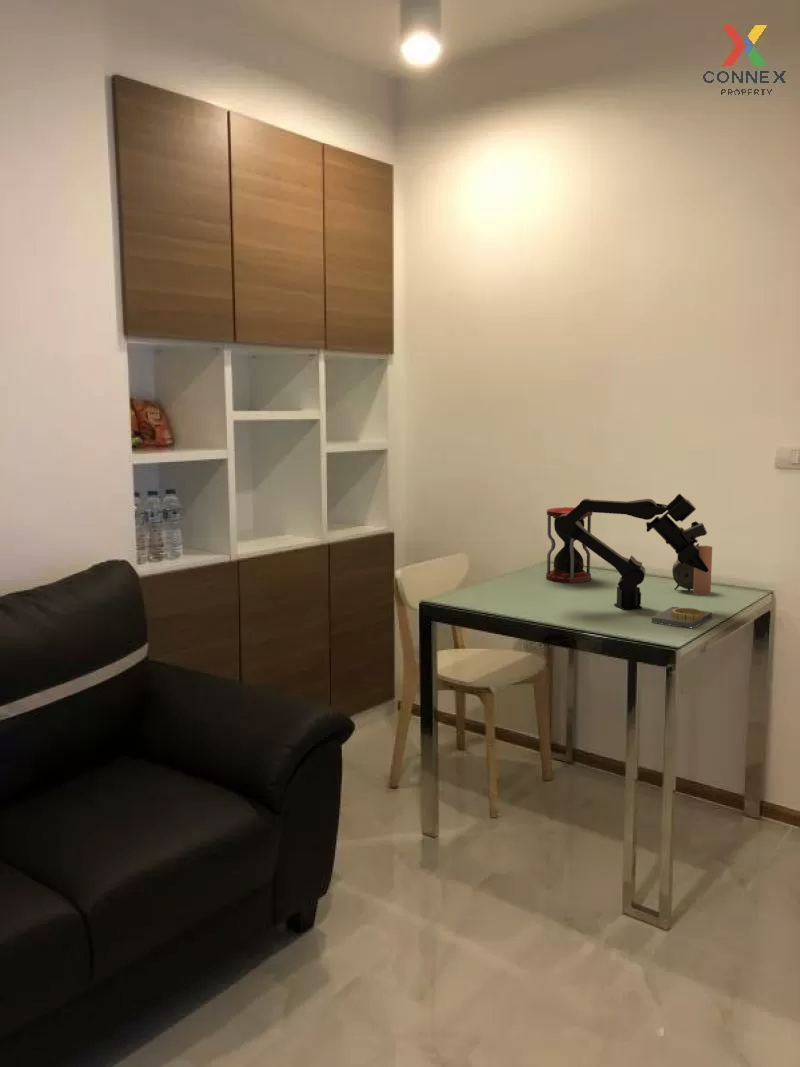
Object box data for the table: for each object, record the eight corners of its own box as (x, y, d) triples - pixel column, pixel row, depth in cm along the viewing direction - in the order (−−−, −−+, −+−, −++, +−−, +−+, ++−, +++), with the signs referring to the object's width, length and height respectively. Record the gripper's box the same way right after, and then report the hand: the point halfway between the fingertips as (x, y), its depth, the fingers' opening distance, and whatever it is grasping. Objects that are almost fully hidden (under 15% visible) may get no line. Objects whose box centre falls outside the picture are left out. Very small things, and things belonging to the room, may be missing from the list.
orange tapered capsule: (699, 594, 264) (700, 548, 262) (689, 591, 269) (691, 546, 267) (713, 593, 265) (715, 547, 263) (704, 590, 270) (706, 545, 268)
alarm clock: (705, 590, 297) (707, 542, 294) (706, 593, 291) (708, 545, 289) (671, 589, 299) (673, 541, 297) (672, 592, 294) (673, 544, 292)
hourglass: (542, 574, 327) (543, 507, 324) (586, 573, 327) (587, 506, 323) (549, 583, 311) (550, 513, 308) (595, 582, 311) (596, 512, 307)
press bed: (692, 628, 249) (692, 619, 248) (651, 622, 256) (651, 614, 256) (711, 617, 261) (712, 608, 261) (672, 611, 269) (672, 603, 268)
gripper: (690, 518, 256) (729, 557, 254) (690, 510, 274) (727, 546, 272) (661, 543, 260) (699, 582, 258) (663, 534, 277) (699, 570, 276)
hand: (707, 569), depth 266 cm, fingers closed on orange tapered capsule, 5 cm apart
